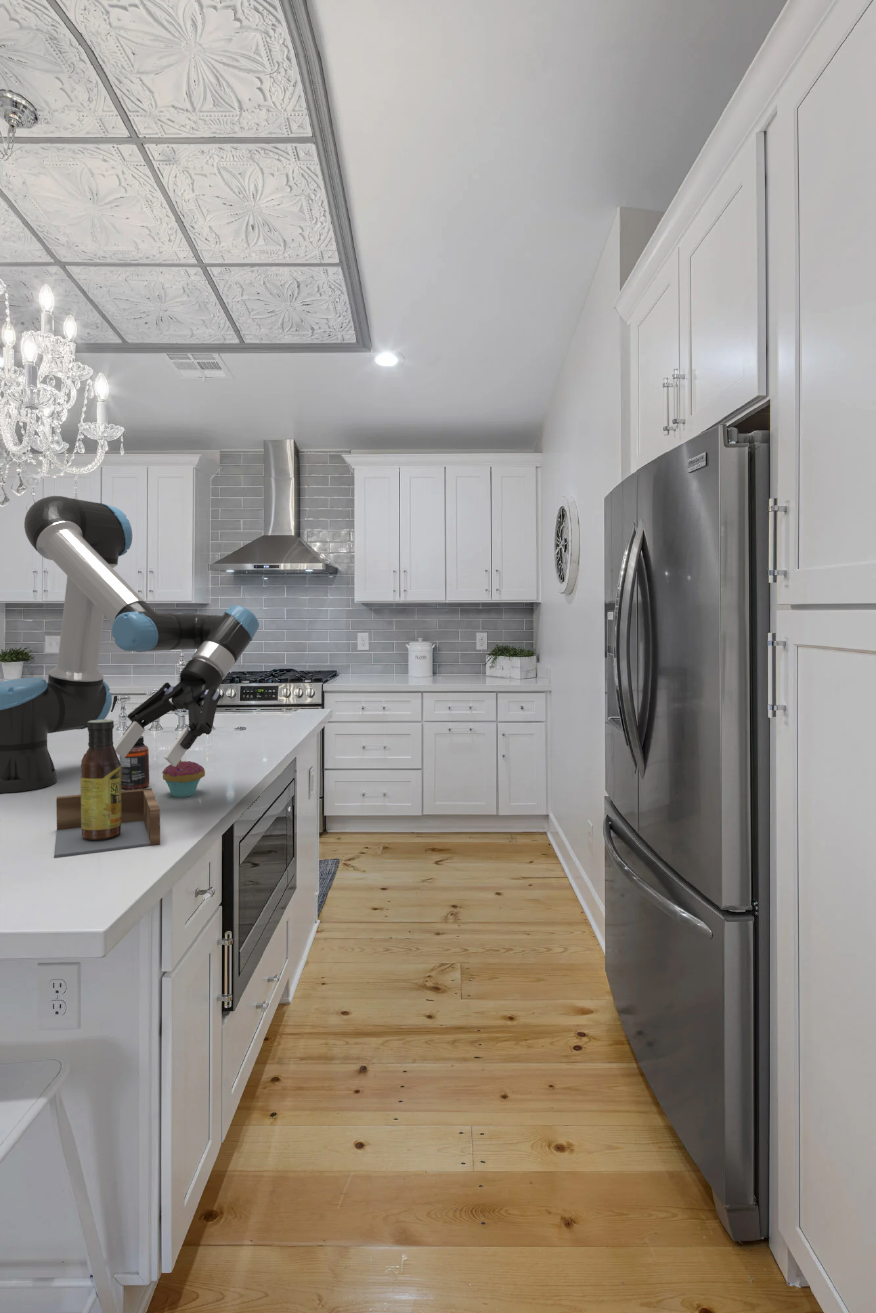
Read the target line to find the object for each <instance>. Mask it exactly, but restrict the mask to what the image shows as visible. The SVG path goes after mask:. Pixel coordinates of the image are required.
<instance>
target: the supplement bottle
mask: <svg viewBox="0 0 876 1313" xmlns="http://www.w3.org/2000/svg"><path fill="white" fill-rule="evenodd" d="M144 738H145V737H144V736H143V735H141V736H140V738H139V739H138V740H137V742H136V743H135V744H134V746H133V747H132V749H131V750H130V751H129V753H128V754H127V755H126V757H125V758H121V757H120V756H119V761H120V764H121V789H123V790H135V789H145V788H147V787H148V786H149V784H150V760H149V758H150V755H149V752H150V750H149V747H148V746H147V745H146V744H145V743H144V742H145V741H144V740H145V739H144Z"/></svg>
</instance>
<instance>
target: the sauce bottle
mask: <svg viewBox="0 0 876 1313" xmlns="http://www.w3.org/2000/svg"><path fill="white" fill-rule="evenodd" d="M114 728H115V724H114V720H113V719H106V718H105V719H103V720H92V721H88V723H87V728H86V729H87V732H88V743H87V745H88V749H86V750H87V751H86V753H84V754H83V757H82V759H81V761H80V762H81V764H80V769H81V770H80V773H81V775H80V794H81V828H82V837H83V838H85V839H87V840H103V839H108V838H112V837H115V836H117V835H118V834H119V833H120V832H121V824H122V818H121V791H122V788H121V764H120V758H119V757H118V754H117V753H116V751H115V749H114V747H115V745H114V740H113V739H114V736H113V733H114V732H113V730H114Z"/></svg>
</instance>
